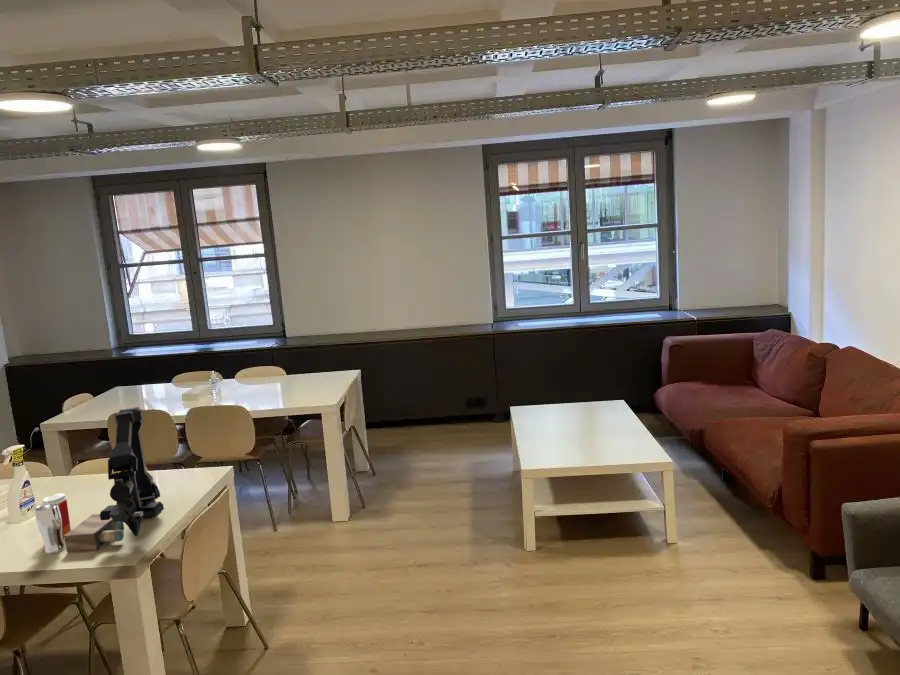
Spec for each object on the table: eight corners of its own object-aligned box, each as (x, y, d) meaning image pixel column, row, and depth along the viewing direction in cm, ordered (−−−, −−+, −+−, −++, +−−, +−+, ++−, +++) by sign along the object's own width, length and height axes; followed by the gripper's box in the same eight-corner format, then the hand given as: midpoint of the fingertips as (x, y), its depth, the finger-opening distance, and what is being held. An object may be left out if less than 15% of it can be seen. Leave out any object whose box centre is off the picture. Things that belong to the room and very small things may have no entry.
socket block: (95, 530, 235) (92, 514, 234) (124, 528, 234) (121, 512, 233) (67, 553, 219) (63, 535, 218) (97, 551, 218) (94, 533, 217)
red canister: (46, 537, 234) (38, 498, 232) (70, 528, 239) (62, 491, 237) (52, 542, 229) (44, 503, 226) (77, 534, 234) (69, 495, 231)
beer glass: (71, 543, 226) (62, 501, 224) (60, 553, 219) (51, 510, 217) (50, 546, 226) (41, 503, 224) (38, 556, 219) (29, 512, 217)
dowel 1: (98, 539, 224) (96, 529, 224) (124, 537, 224) (122, 527, 223) (92, 544, 221) (89, 534, 220) (118, 543, 220) (116, 532, 219)
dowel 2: (96, 529, 233) (94, 520, 232) (121, 528, 232) (119, 518, 231) (90, 534, 229) (88, 524, 228) (116, 532, 228) (114, 522, 228)
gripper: (85, 502, 211) (95, 549, 214) (143, 498, 210) (151, 545, 212) (105, 488, 222) (114, 533, 225) (160, 484, 221) (168, 529, 223)
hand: (136, 535), depth 221 cm, fingers closed
